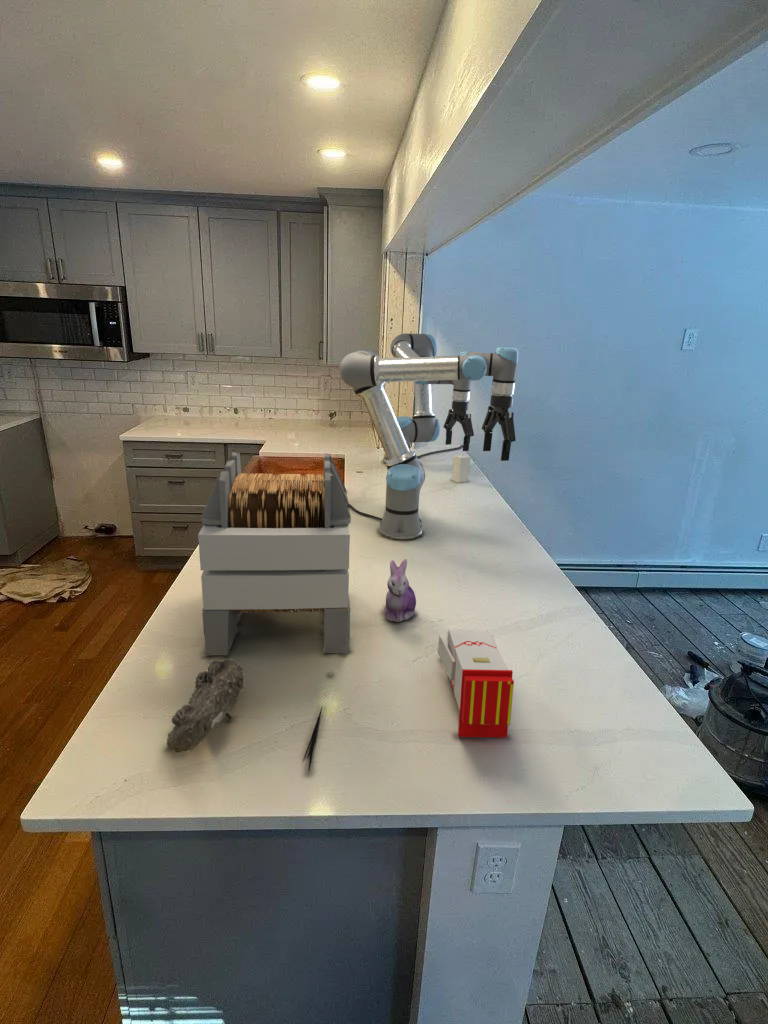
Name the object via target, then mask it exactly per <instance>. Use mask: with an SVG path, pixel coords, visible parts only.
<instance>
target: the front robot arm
mask: <svg viewBox="0 0 768 1024" xmlns="http://www.w3.org/2000/svg"><path fill="white" fill-rule="evenodd" d="M339 364H340V365H339V376H340V377H341V380H342V381H343V383H345V384H346V385H347V386H349V387H351V388H352V389H353V391H354V394H355V396H357V397H359V398H361V399H362V402H363V404H364V406H365V410H366V412H367V414H368V417H369V418H370V421H371V423H372V426H373V429H374V430H375V432H376V435H377V438H378V440H379V442H380V444H381V447H382V449H383V451H384V454H386V456H387V458H388V460H387V463H386V464H385V466H386V469H387V471H386V476H385V483H386V485H385V504H384V505H385V507H384V508H385V509H384V513H383V515H382V517H379V516H376V515H372V514H369V513H365V512H362V511H360V510H358V509H357V508H355V507H354V506H353V505H352V504H350V503H349V508H350V509H351V510H352V511H354V512H355V513H357V514H359V515H362V516H365V517H368V518H373V519H375V520H378V521H381V522H379V526H378V533H379V534H380V535H381V536H382V537H385V538H387V539H389V540H395V541H410V540H415V539H418V538H420V537H421V536H422V535H423V525H422V520H421V518H420V515H419V507H420V506H419V505H420V494H421V493H420V492H421V489H422V487H423V485H424V483H425V480H426V470H425V468H424V465H423V464H422V462H421V461H420V460H419V458H417V456H418V455H416V452H415V451H414V450H413V451H412V450H411V449H410V450H411V451H410V450H409V448H408V445H407V443H406V441H405V438H404V436H403V433H402V431H401V428H400V426H399V424H398V421H397V419H396V417H397V416H396V414H395V411H394V409H393V407H392V405H391V402H390V400H389V397H388V394H387V392H386V389H385V386H386V383H400V382H402V383H403V382H414V381H433V380H471V382H473V381H480V380H481V379H483V378H484V377H492V382H491V392H490V393H491V395H490V402H489V405H488V406H487V412H486V415H485V417H484V421H483V423H482V426H481V430H482V431H483V433H484V437H483V444H482V445H483V447H482V452H491V449H492V442H493V431H494V428H495V427H496V425H497V423H498V425H499V426H500V428H501V433H502V436H503V440H502V446H501V454H500V461H502V462H506V461H507V462H509V461H510V454H511V446H512V443H513V442H516V439H517V438H516V432H515V423H514V422H515V421H514V416H515V415H514V412H513V411H510V410H509V409H510V408H512V407H513V403H514V394H515V388H516V378H517V371H518V365H519V350H518V349H517V348H515V347H506V346H505V347H502V346H499V347H496V348H495V351H494V352H479V351H471V350H470V351H461V352H459V355H440V356H439V355H438V356H437V355H436V356H434V357H407V358H395V357H383V358H381V357H380V356H379V355H377V354H375V353H374V352H373V351H371V350H368V349H359V350H356V351H353V352H351V353H348V354H347V355H345V356H344V357H343V358H342V360H341V362H340V363H339ZM286 474H289V473H288V472H287V473H286Z"/></svg>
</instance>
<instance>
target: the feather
mask: <svg viewBox="0 0 768 1024" xmlns="http://www.w3.org/2000/svg"><path fill="white" fill-rule="evenodd" d="M329 675H330V676H331V675H332V674H331V673H330V674H329ZM322 710H323V707H321V708H320V710H319V713H318V716H317V719H316V723H315V725H314V728H313V731H312V733H311V737H310V739H309V742H308V745H307V748H306V751H305V754H304V757H303V760H302V763H301V767H302V765H303V763H304V761H305V758H308V759H309V760H308V762H307V763H308V764H307V766H308V771H310V770H311V766H312V765H311V764H312V760H313V757H315V756H314V755H315V751H316V749H315V746H317V739H318V733H319V729H320V722H321V717H322V712H323V711H322ZM313 754H314V755H313ZM306 755H307V757H306Z"/></svg>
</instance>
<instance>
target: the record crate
mask: <svg viewBox="0 0 768 1024" xmlns="http://www.w3.org/2000/svg"><path fill="white" fill-rule="evenodd" d="M241 463H242V462H241V453H240V452H235V451H233V452H231V455H230V457H229V459H227V460H226V463H225V466H224V468H223V470H222V471H220V474H219V475H218V477H217V479H216V482H215V483H214V486H213V489H212V491H211V494H210V495H209V498H208V499H207V502H206V505H205V507H204V509H203V511H202V514H201V517H200V520H201V524H202V527H201V529H200V530H199V532H198V535H197V538H198V550H199V552H198V553H199V563H200V565H199V567H200V571H202V573H201V575H200V580H201V581H200V582H201V594H202V605H203V607H202V609H201V610H202V611H201V617H202V629H203V638H204V639H203V640H204V649H205V650H204V651H205V652H204V655H205V656H206V657H212V656H228V654H229V652H230V650H231V647H232V645H233V643H234V640H235V638H236V635H237V632H238V623H240V620H241V617H242V614H244V613H250V614H251V613H253V614H254V613H257V614H258V613H298V612H301V613H302V612H308V613H309V612H322V614H323V654H344V655H346V654H347V653H349V652H350V639H351V604H350V595H349V594H350V593H349V586H350V585H349V584H350V572H349V571H350V570H349V569H350V549H351V548H350V547H351V545H350V542H351V533H350V532H351V531H350V526H349V525H350V524H351V520H352V516H351V515H352V514H351V507H349V504H350V502H349V496H348V490H347V488H346V486H345V484H344V482H343V480H342V478H341V474H340V473H339V471H338V469H337V466H336V465H335V462H334V460H333V458H332V455H331V454H330V453H326V452H324V453H323V473H322V474H321V473H318V474H316V475H315V474H314V473H306V474H303V475H302V474H301V473H288V474H287V473H280V474H273V473H244V472H243V473H242V466H241Z"/></svg>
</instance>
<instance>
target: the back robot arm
mask: <svg viewBox="0 0 768 1024" xmlns="http://www.w3.org/2000/svg"><path fill="white" fill-rule="evenodd" d="M437 344H438V343H437V341H436V338H435V337H434V336H433V335H432V334H428V333H408V332H407V333H406V332H405V333H400V334H398V335H397V336H394V338H393V339H392V341H391V342H390V347H389V348H390V353H391V355H392V356H393V358H407V357H434V356H437V354H438V353H437V352H438V345H437ZM432 385H453V388H452V397H451V399H452V401H451V409H448V413H447V416H446V419H445V421H444V423H443V425H442V426H443V427H442V428H443V429H445V445H446V446H447V445H452V439H453V438H452V437H453V428H454V426H455V425H456V423H459V424H460V425H461V428H462V430H463V434H464V436H463V442H462V443H463V444H460V445H459V446H458V447H452V448H447V449H441V450H435V451H430V452H426V453H422V454H420V455H416V456H417V459H419V458H420V459H421V458H422V457H425V456H428V455H433V454H437V453H443V452H444V453H445V452H450V451H455V450H459V449H461V448H462V452H470V451H469V449H470V443H471V437H475V432H474V428H473V421H472V414H471V413H467V411H468V410H469V409H470V408H469V407H470V402H469V401H470V398H471V386H472V381H471V380H433V381H413V391H414V393H413V394H414V414H413V415H412V417H411V416H406V415H405V416H404V415H403V416H396V419H397V421H398V424H399V426H400V428H401V431H402V433H403V436H404V438H405V441H406V443H407V445H408V448H409V450H410V451H412V449H411V444H413V443H431V442H435V441H436V440H437V439H438V438H439V436H440V432H441V422H440V420H439V419H438V418H436V414H435V413H434V412H433V402H432V399H433V397H432ZM387 460H388V458H387V456H386V454H385V453H384V454H383V458H382V463H383V464H384V465H386V463H387Z"/></svg>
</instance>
